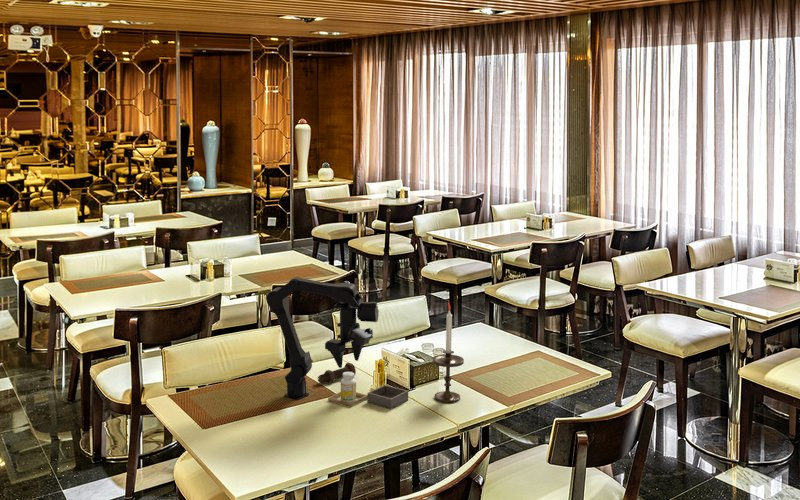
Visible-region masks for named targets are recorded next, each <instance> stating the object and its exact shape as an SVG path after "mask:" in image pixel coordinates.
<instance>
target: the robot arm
mask: <svg viewBox="0 0 800 500" xmlns="http://www.w3.org/2000/svg"><path fill="white" fill-rule="evenodd" d="M295 291H299V292H305V293H311V294H316V295H321V296H325V297H326V296H327V297H329V298H331V299H334V300H335V301H336V302H337V303H336V304H335V305H333V308H334V309H339V322H338V323H336V324H337V325H336V327H338V328H339V334H337V335H336V336H337V339H335V338H332V339H329V340H326V341H325V343H324V349H325V350H326V351H328V352H330V354H331V356H332V357H333V358H334V361H335V363H336V365H337V367H338V368H339V369H341V368H343V357H344V353H345V352H346V346H347V344H349V343H351V347H352V354H353V357H354V361H356V362H358V361H359V358H360V356H361V353H362V349H363V347H364V346H365V345H369V343H370V340H371V339H373V338H374V336H373V334H374V332H373V329H372V328H371V327H367V328H360V327H361V324H360V323H359V322H357V319H358V320H359V321H360V322H365V323H378V320H379V317H380V316H379V315H380V314H379V313H380V311H379V305H378V302H377V301H372V302H371V301H365V300H364V298H362V296H361V295H360V293H358V291H359V290H358V288H357V286H356V284H354V283H352V282H340V283H330V282H323V281H318V280H314V279H313V280H312V279H308V278H302V277H299V276H295V277H293V278H292V279H290V280H289V281H288V282H287V283H286V284H284V285H283V286H282V287H280V286H278V287H275V288H274V289H272V290H271V291H270V292H268V293H267V296H266V297H265V300H266V303H267V304H268V307H269V309H270V310H271V312H272V313H273V314H274V315H275V316H276V318H277V320H278V323H279V327H280V330H281V333H282V335H283V338H284V341H285V344H286V347H287V349H288V353H289V365H290V366H289V367H290V371H289V372H287V374H286V375H285V376H284V379H285V382H286V393H284V394H283V396H284V397H286V398H290V399H293V400H300V399H303V398H305V397H307V396H309V395H310V393H309V392H307V380H306V376H307V375H308V373H309V372H310V371H311V370H312V368H313V362H314V360H313V359H312V357H311V353H310V351H309V350H308V351H306V352H305V350H304V349H303V347H302V345H301V342H300V340H299V336H298V332H297V330H296V328H295V325H294V322H293V319H292V316H291V313H290V301H289V300H290V299H289V296H290V295H291V294H292V293H294V292H295Z"/></svg>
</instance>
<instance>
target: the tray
mask: <svg viewBox="0 0 800 500" xmlns="http://www.w3.org/2000/svg"><path fill="white" fill-rule="evenodd" d="M366 395H367V400H366V402H367V404H370V405H375V406H378V407H382V408H385V409H389V410H393V409H394V408H396V407H398V406H400V405H402V404H405V403H406V402H407V401H409V390H406V389H403V388H399V387H395V386H392V385H386V384H383V385H381V386H379V387H376V388H375V389H372V390H370V391H369V392H367V394H366Z"/></svg>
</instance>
